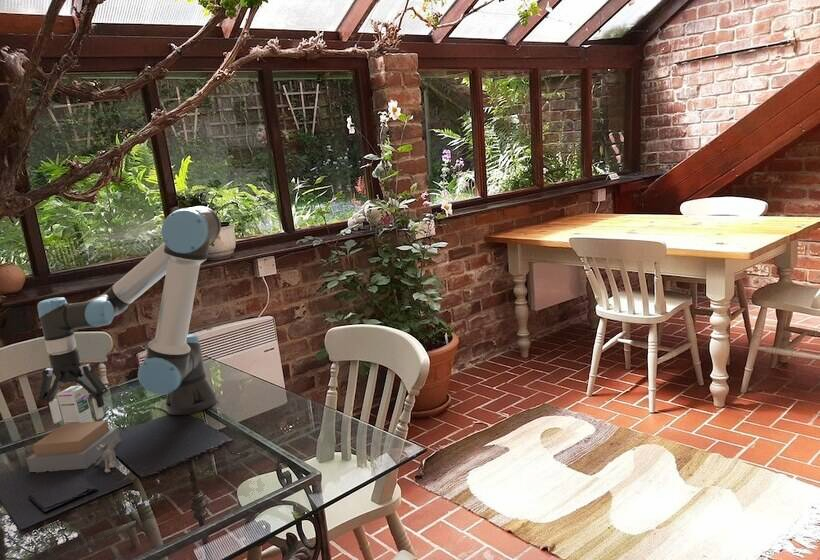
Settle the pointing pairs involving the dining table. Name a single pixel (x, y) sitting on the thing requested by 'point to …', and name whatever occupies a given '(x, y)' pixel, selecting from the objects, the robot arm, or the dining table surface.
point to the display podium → (71, 447)
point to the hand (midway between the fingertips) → (79, 419)
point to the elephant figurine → (108, 454)
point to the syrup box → (75, 405)
